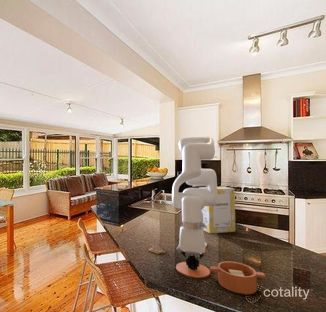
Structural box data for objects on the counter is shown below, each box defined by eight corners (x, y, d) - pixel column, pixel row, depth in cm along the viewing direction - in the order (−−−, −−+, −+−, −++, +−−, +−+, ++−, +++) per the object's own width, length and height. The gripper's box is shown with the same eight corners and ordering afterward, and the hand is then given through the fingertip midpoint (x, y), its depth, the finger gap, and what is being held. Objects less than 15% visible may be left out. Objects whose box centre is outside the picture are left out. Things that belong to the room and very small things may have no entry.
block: (228, 280, 91) (228, 269, 91) (242, 282, 90) (241, 270, 90) (231, 286, 87) (231, 274, 87) (245, 288, 85) (245, 276, 85)
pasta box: (209, 233, 148) (208, 189, 148) (199, 228, 158) (198, 187, 159) (235, 231, 150) (234, 188, 151) (224, 226, 161) (223, 186, 161)
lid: (176, 262, 109) (175, 247, 109) (207, 266, 104) (207, 250, 104) (176, 276, 96) (175, 259, 96) (212, 281, 91) (211, 263, 91)
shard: (158, 246, 129) (158, 242, 129) (171, 249, 123) (171, 246, 123) (147, 251, 121) (147, 248, 121) (161, 256, 116) (161, 252, 116)
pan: (208, 274, 97) (208, 258, 97) (259, 281, 91) (258, 264, 91) (213, 290, 85) (212, 272, 85) (271, 299, 79) (270, 280, 79)
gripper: (211, 223, 101) (212, 266, 101) (172, 221, 106) (172, 261, 106) (213, 229, 94) (214, 274, 94) (171, 225, 99) (172, 268, 99)
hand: (192, 267), depth 100 cm, fingers closed on lid, 2 cm apart
